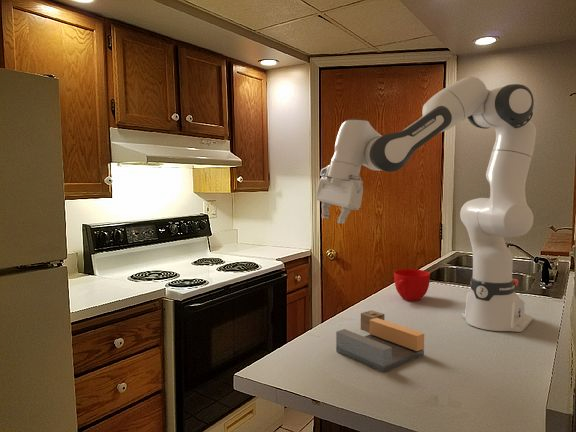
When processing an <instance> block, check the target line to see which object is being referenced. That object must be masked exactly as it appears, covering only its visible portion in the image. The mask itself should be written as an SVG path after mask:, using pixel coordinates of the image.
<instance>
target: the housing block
mask: <svg viewBox="0 0 576 432" xmlns="http://www.w3.org/2000/svg"><path fill="white" fill-rule="evenodd" d="M374 318H379V319H382V320H385V313H382V312H379V311H377V310H372V309H371V310H368V311H364V312H361V313H360V330H362V331H365V332H367V333H369V320H371V319H374Z"/></svg>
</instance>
